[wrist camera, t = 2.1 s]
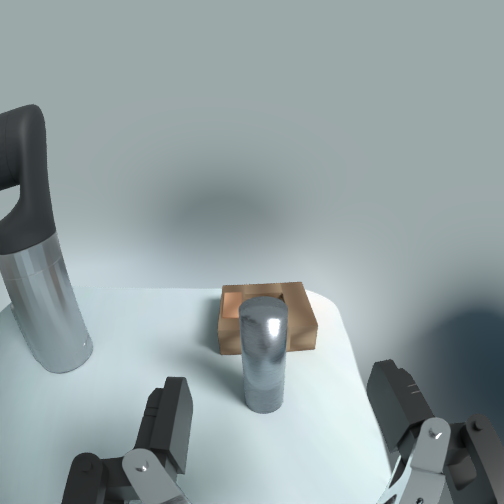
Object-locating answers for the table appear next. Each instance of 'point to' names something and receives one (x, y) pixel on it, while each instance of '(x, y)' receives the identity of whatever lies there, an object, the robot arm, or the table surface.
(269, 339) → the barrel peg
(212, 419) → the table surface
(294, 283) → the block
